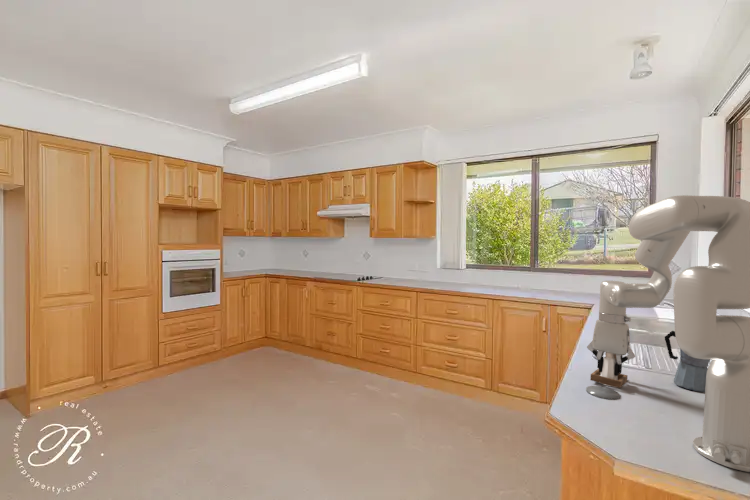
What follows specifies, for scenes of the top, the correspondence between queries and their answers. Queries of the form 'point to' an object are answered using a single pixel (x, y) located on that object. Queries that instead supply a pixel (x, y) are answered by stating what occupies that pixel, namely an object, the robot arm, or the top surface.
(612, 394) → the coaster
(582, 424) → the top surface
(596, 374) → the ring stand
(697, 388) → the moka pot
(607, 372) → the pepper shaker
